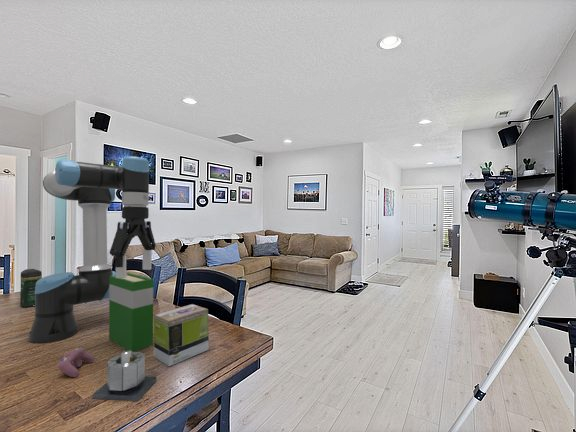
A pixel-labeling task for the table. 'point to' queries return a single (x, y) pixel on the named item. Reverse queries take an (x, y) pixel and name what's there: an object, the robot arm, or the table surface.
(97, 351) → the table surface
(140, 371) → the hub
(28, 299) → the coffee jar
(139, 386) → the block
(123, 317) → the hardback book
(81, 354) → the video game controller
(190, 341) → the tea box
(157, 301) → the table surface
